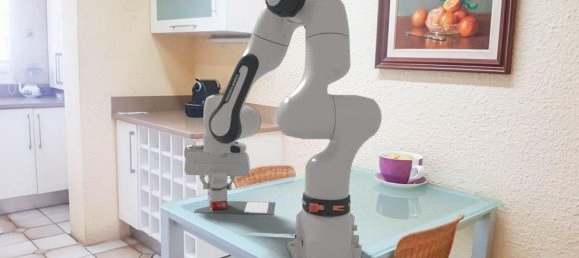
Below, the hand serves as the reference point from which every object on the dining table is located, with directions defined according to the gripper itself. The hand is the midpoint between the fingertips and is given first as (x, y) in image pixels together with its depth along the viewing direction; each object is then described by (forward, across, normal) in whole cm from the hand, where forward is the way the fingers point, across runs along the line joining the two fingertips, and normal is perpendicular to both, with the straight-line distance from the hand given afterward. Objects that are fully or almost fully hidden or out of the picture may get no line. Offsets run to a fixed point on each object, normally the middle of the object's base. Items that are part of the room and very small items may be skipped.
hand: (217, 189), depth 145 cm
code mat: (+6, +6, 0) cm, 8 cm away
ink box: (+6, 0, 0) cm, 6 cm away
